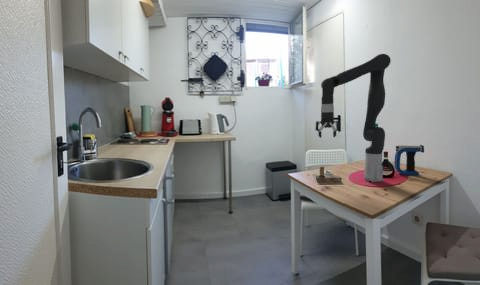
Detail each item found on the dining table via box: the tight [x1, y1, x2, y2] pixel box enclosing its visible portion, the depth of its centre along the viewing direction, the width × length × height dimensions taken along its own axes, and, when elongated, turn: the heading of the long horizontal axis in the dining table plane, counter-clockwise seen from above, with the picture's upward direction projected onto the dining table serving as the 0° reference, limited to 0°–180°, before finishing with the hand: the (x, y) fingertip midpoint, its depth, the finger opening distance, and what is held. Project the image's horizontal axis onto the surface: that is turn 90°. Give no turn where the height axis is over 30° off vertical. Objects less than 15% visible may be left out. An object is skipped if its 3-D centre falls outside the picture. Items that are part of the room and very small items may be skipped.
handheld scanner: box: [394, 144, 425, 176], centre depth 175 cm, size 5×16×20 cm, turn 78°
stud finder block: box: [324, 170, 334, 175], centre depth 168 cm, size 5×7×4 cm
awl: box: [319, 166, 325, 177], centre depth 161 cm, size 3×3×9 cm
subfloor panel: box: [311, 173, 320, 181], centre depth 169 cm, size 14×21×1 cm, turn 175°
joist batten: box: [315, 174, 343, 184], centre depth 161 cm, size 14×5×3 cm, turn 85°
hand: (327, 137), depth 168 cm, fingers open, 8 cm apart
